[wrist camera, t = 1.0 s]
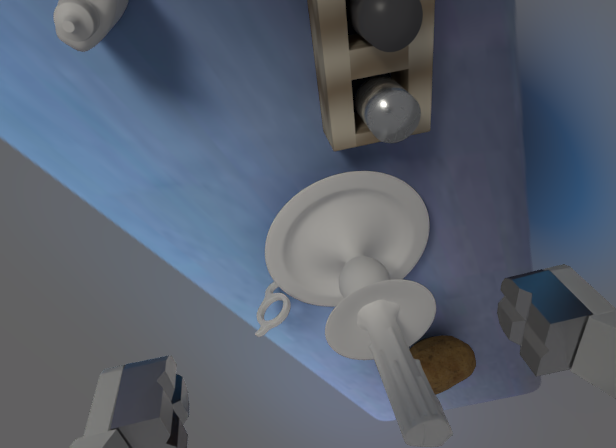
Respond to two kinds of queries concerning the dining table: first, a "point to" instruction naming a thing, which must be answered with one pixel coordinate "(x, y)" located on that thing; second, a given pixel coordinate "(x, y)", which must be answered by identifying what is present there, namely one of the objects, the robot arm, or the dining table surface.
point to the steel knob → (387, 109)
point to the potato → (444, 361)
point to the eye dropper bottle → (86, 21)
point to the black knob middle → (386, 22)
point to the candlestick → (362, 283)
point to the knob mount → (364, 70)
